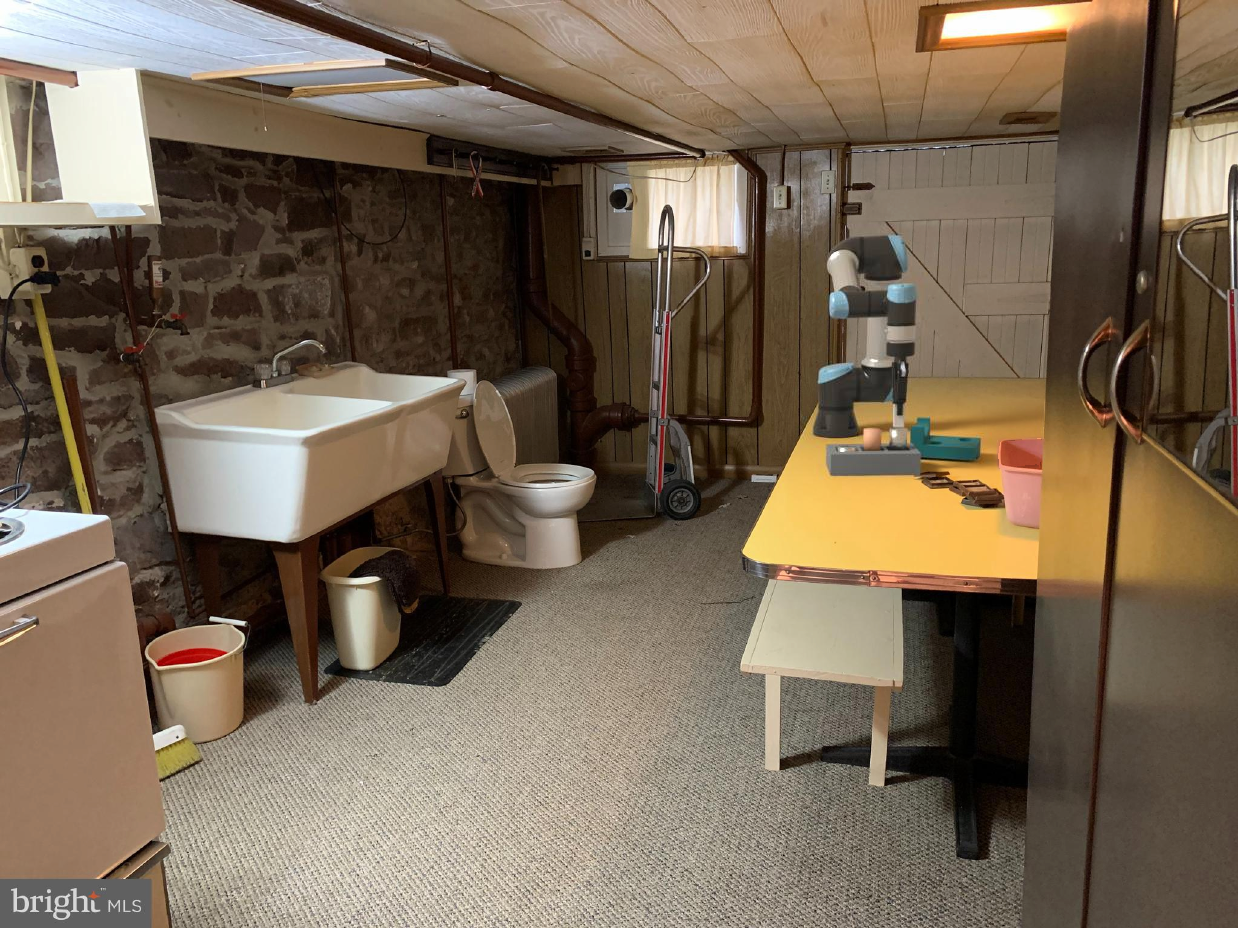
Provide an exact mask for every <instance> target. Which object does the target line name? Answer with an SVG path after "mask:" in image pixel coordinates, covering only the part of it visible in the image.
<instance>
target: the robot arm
mask: <svg viewBox="0 0 1238 928" xmlns="http://www.w3.org/2000/svg"><path fill="white" fill-rule="evenodd" d="M908 262H909V261H908V252H907V246H906V242H905V239H904V237H903V236H901V235H896V234H895V235H894V234H882V235H881V234H880V235H866V236H853V237H852V236H851V237H848V238H845V239H843V240H842V241H840V242H837V244H836V245H835V246H833V247H832V249H831V250H830V251H829V253H828V255H827V259H826V269H827V273H829V275H830V276H831V277H832V278H831V279H832V285H833V292H831V293H830V294H829V303H828V304H829V305H828V306H829V316H830V317H831V318H832V319H842V320H845V319H863V318H864V319H867V329H866V330H867V331H866V354H865V355H866V356H865V358H864V359H862V360H861V365H860V367H856V365H855V364H854V362H842V363H834V364H829V365H825V366H823V367H821V368H820V369H819V371H818V380H817V384H818V393H817V395H818V396H817V398H818V400H817V408H818V409H817V413H816V417H815V420H814V423H813V426H812V435H814V436H817V437H823V438H850V437H851V438H852V437H855V436H858V435H859V434H860V433H859V432H860V431H859V430H860V429H859V428H860V427H859V424H858V420H857V416H856V414H855V410H854V409H855V407H854V406H855V405H854V404H855V403H881V404H883V403H892V405H893V411H892V412H893V414H892V417H893V419H892V421H893V422H892V426H893V427H892V428H896V427H900V428H905V407H906V406H905V403H907V394H908V393H907V392H908V381H909V380H908V379H909V373H910V370H909V362H907V357H913V356H915V354H916V342H914V341H915V340H916V329H917V328H916V327H917V326H916V315H917V314H916V312H917V310H916V309H917V299H918V295H917V285H916V284H915V283H899V282H901V280H902V279H903V278H902V276H903V274H905V273H907V272H908V265H909V264H908ZM859 275H863V280H864V281H865V282H866V283H867V284H868V290H862V288H861V287H862V286H861V282H860V278H859Z"/></svg>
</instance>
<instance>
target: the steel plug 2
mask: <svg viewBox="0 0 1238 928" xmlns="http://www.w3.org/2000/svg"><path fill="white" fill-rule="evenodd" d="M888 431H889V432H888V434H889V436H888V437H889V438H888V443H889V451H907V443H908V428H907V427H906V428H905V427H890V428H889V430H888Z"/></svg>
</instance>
